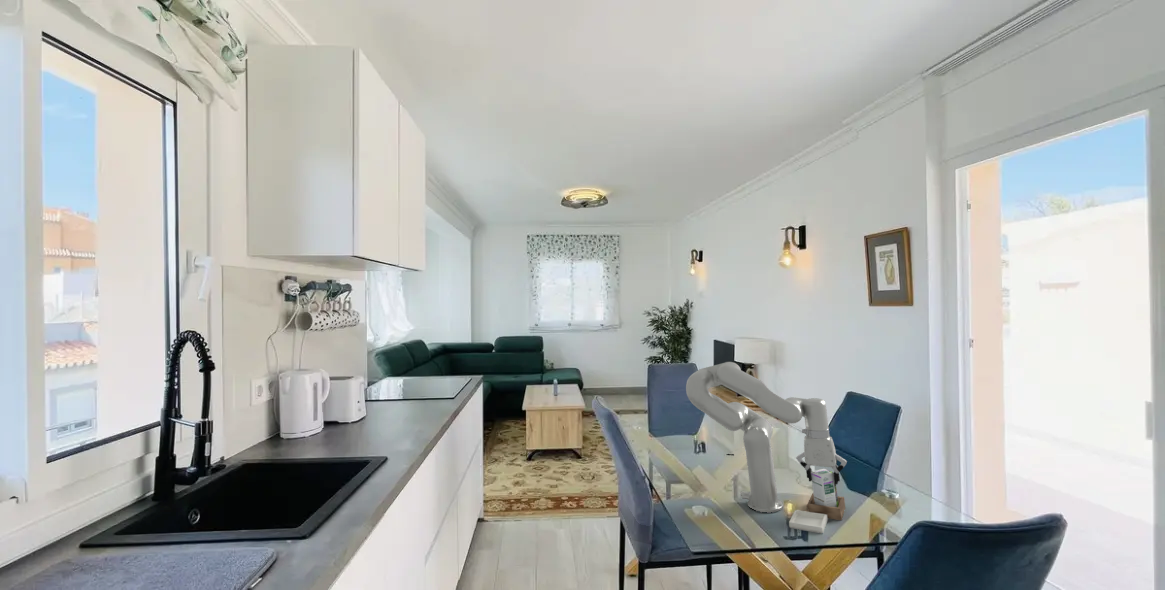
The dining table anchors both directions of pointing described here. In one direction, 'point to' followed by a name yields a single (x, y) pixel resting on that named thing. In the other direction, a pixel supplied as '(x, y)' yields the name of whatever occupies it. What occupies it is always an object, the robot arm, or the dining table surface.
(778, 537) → the dining table surface
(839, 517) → the holder collar
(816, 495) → the syrup box
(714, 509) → the dining table surface
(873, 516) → the dining table surface
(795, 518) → the parts tray
